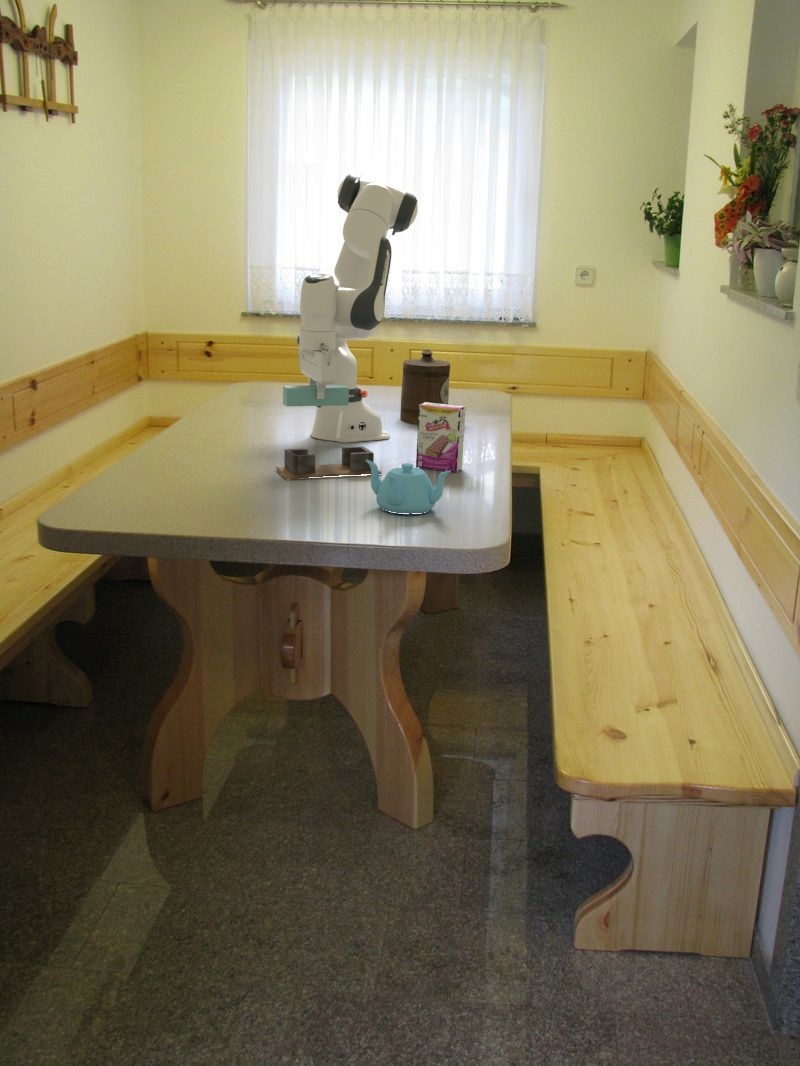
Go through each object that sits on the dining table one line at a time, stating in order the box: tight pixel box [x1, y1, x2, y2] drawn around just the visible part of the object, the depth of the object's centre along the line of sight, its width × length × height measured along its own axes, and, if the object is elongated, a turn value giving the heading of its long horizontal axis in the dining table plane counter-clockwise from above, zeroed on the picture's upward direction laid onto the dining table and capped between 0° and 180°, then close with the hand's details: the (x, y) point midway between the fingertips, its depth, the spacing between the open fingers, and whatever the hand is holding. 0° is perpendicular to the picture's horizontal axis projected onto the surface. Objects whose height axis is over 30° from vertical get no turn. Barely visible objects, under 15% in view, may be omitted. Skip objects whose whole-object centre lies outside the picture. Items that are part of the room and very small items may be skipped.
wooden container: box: [399, 349, 451, 425], centre depth 343 cm, size 15×15×22 cm
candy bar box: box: [415, 402, 466, 473], centre depth 279 cm, size 11×5×16 cm, turn 71°
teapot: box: [366, 460, 452, 514], centre depth 241 cm, size 15×15×10 cm
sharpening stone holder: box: [276, 445, 382, 480], centre depth 272 cm, size 24×10×6 cm, turn 110°
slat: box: [282, 385, 349, 407], centre depth 278 cm, size 16×4×4 cm, turn 110°
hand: (316, 396), depth 278 cm, fingers closed on slat, 4 cm apart
